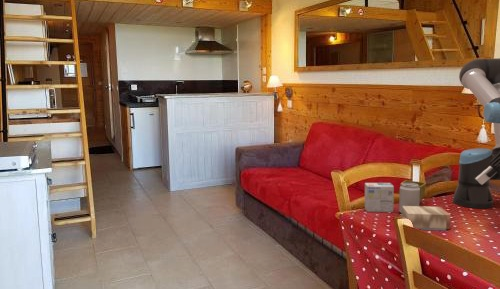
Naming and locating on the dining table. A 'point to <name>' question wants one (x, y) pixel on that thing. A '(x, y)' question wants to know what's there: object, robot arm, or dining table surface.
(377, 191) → the light bulb box
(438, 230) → the mat
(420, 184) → the flower pot
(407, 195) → the can
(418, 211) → the birch block
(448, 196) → the dining table surface
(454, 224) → the dining table surface
